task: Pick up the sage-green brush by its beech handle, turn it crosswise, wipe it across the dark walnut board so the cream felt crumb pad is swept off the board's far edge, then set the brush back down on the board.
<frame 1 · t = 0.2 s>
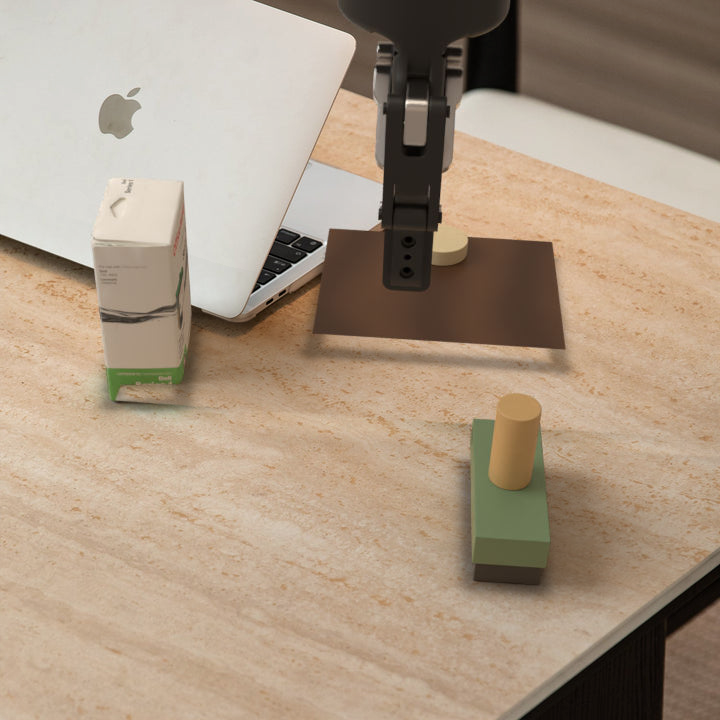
hand: (408, 240, 61), 18 cm above the table, tool pointing down, fingers open, 8 cm apart
board: (438, 301, 90), on the table
brush: (503, 521, 72), on the table
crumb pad: (440, 251, 93), point 1 cm above the table, touching board
ink box: (152, 365, 83), on the table
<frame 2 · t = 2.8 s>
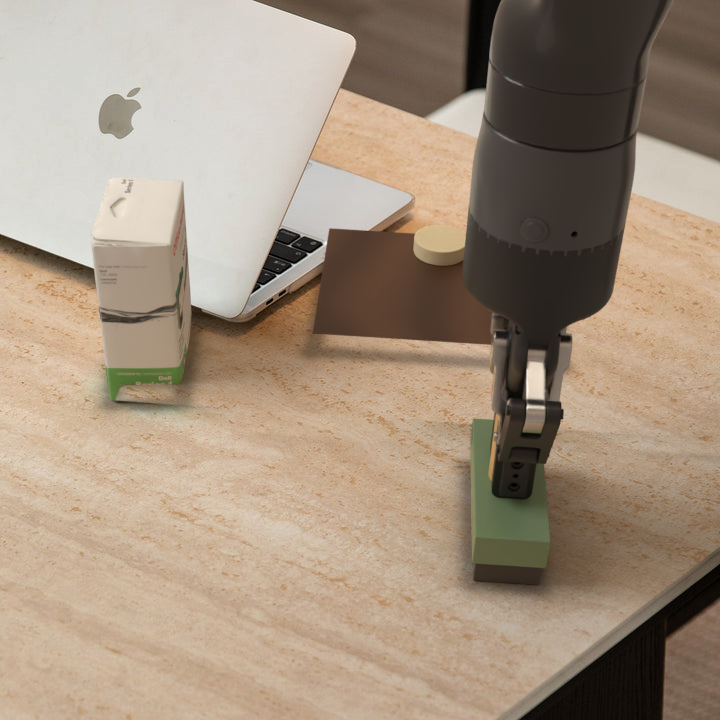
hand: (509, 474, 70), 4 cm above the table, tool pointing down, fingers closed on brush, 2 cm apart
brush: (503, 521, 72), on the table, touching gripper
everything else where it was.
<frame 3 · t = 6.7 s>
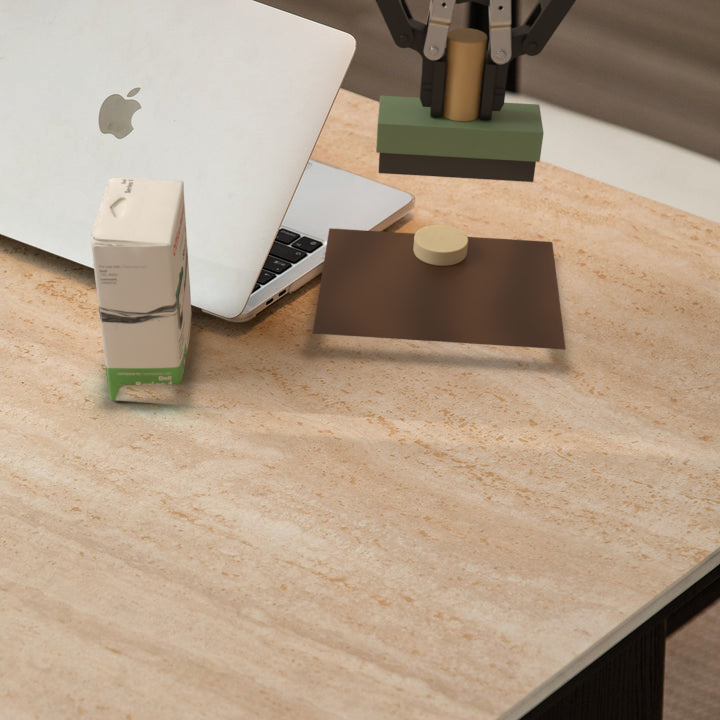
hand: (460, 111, 76), 17 cm above the table, tool pointing down, fingers closed on brush, 2 cm apart
brush: (455, 164, 78), point 13 cm above the table, touching gripper
everything else where it was.
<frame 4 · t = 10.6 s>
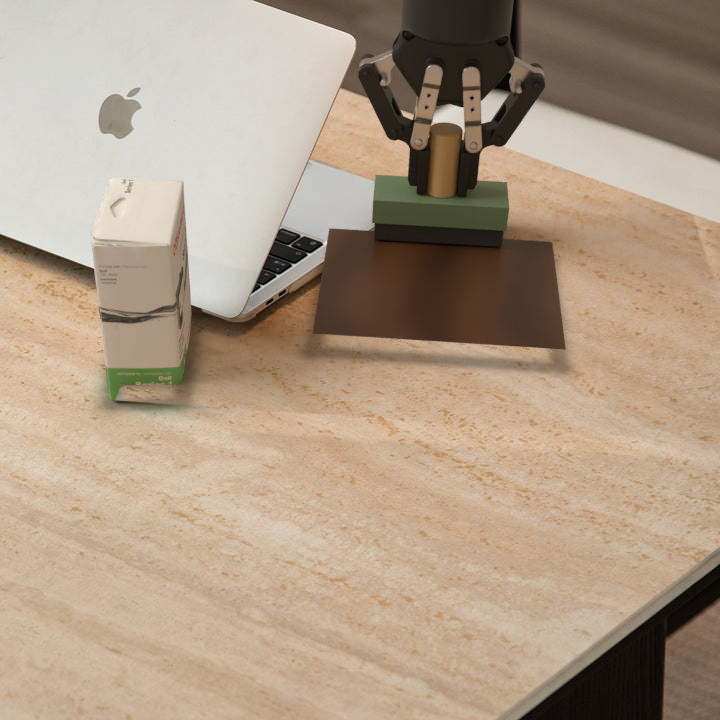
hand: (441, 189, 93), 5 cm above the table, tool pointing down, fingers closed on brush, 2 cm apart
brush: (437, 231, 95), point 2 cm above the table, touching gripper
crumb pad: (438, 237, 97), on the table
everything else where it was.
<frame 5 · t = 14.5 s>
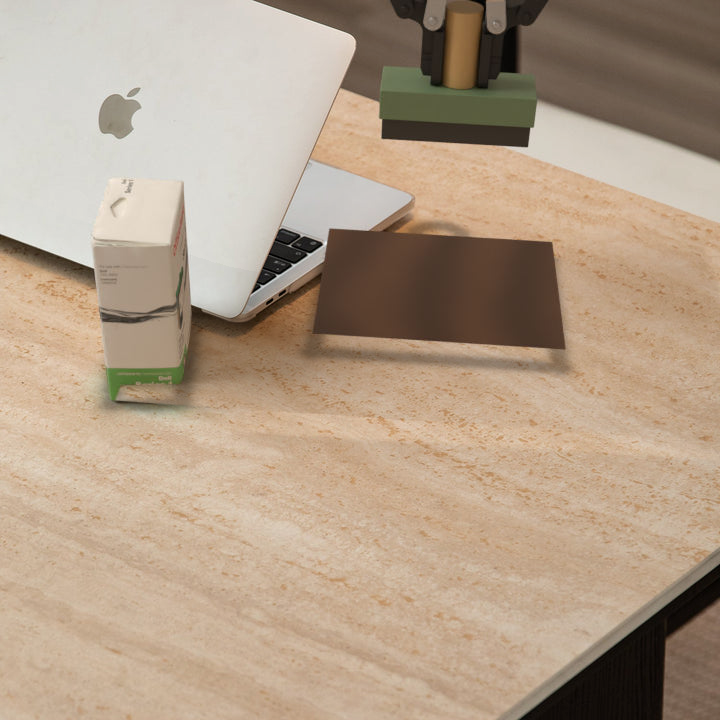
hand: (459, 80, 80), 17 cm above the table, tool pointing down, fingers closed on brush, 2 cm apart
brush: (454, 131, 83), point 13 cm above the table, touching gripper
everything else where it was.
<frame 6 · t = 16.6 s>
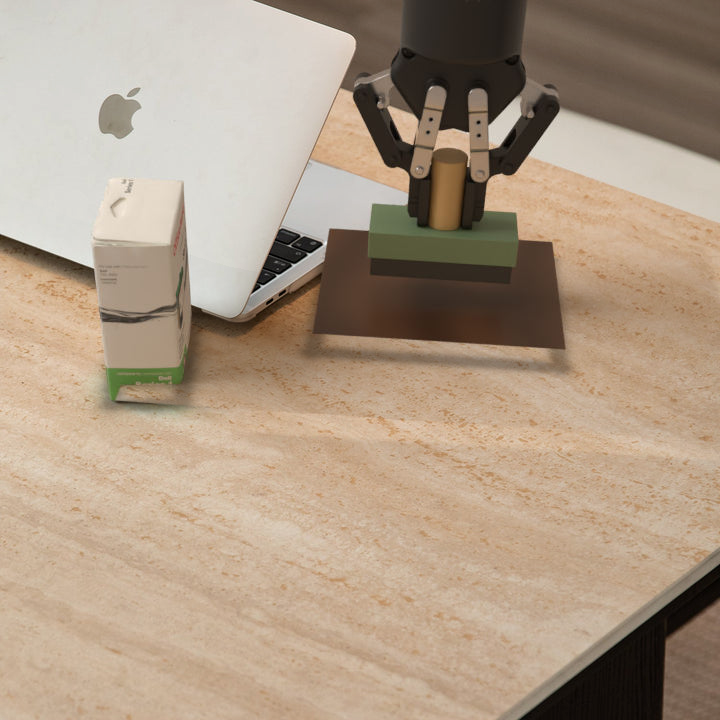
hand: (444, 220, 84), 8 cm above the table, tool pointing down, fingers closed on brush, 2 cm apart
brush: (440, 265, 86), point 4 cm above the table, touching gripper
everything else where it was.
when the fingers open (5 cm above the table, at t = 17.5 s): brush stays where it is, resting on board.
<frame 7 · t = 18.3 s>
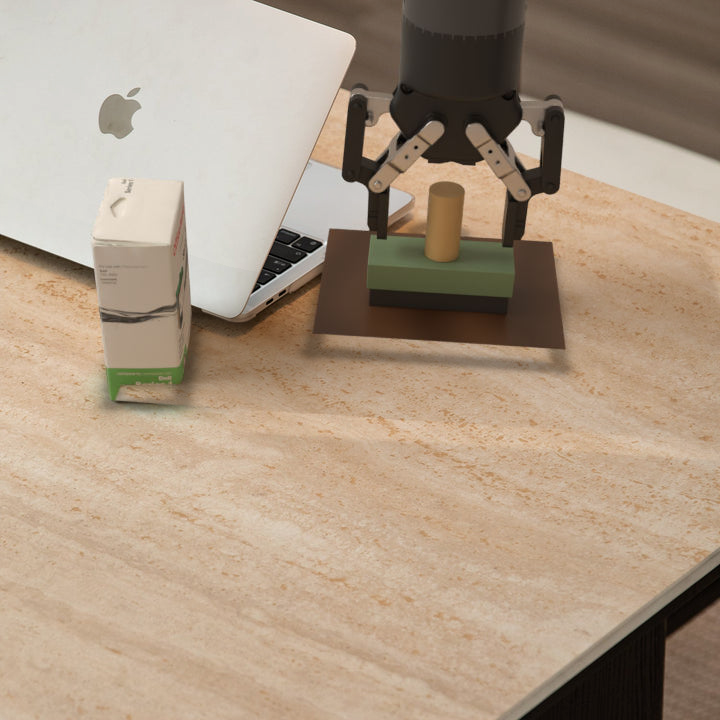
hand: (444, 237, 85), 6 cm above the table, tool pointing down, fingers open, 8 cm apart
brush: (437, 295, 88), point 1 cm above the table, touching board
everything else where it was.
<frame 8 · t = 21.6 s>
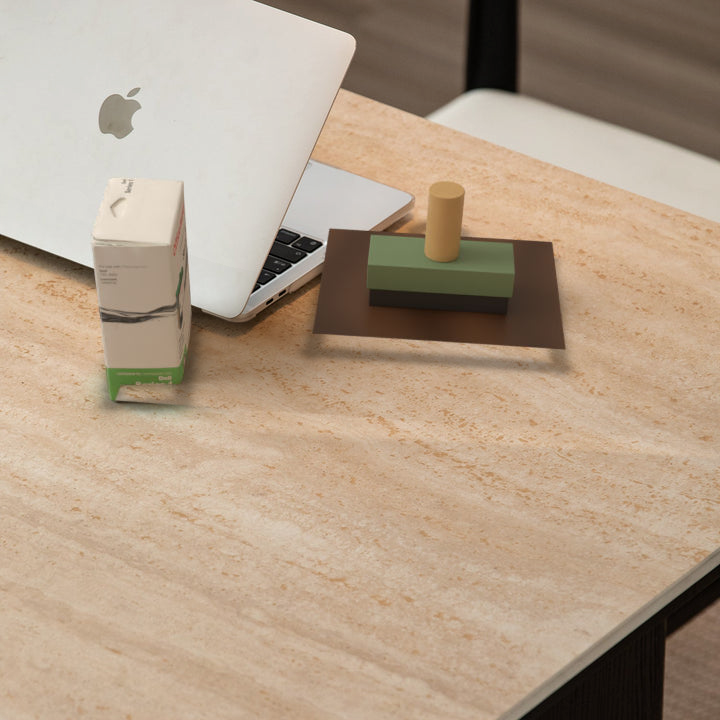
nothing on the table moved.
at the end: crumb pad inside the target area (9.1 cm from its centre), on the table; brush inside the target area on the board (1.5 cm from its centre), point 1.5 cm above the board's base; brush tilted 0° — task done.
